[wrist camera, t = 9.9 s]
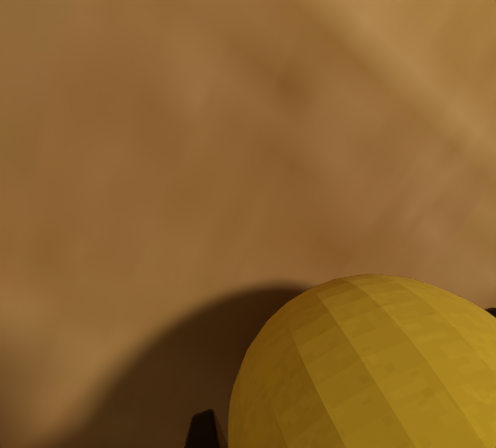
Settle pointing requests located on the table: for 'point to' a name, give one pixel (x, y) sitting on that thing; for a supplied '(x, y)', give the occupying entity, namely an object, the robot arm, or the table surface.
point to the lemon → (369, 370)
